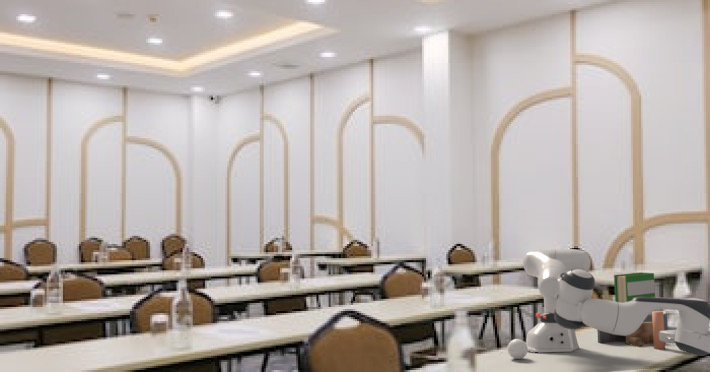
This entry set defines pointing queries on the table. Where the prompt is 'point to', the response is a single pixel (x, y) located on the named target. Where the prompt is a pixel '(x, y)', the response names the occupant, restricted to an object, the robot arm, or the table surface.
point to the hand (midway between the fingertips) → (675, 332)
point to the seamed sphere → (517, 349)
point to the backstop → (608, 337)
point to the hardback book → (633, 286)
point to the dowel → (658, 329)
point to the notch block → (641, 335)
